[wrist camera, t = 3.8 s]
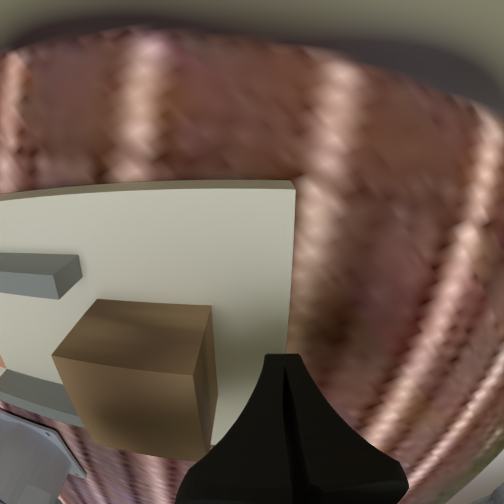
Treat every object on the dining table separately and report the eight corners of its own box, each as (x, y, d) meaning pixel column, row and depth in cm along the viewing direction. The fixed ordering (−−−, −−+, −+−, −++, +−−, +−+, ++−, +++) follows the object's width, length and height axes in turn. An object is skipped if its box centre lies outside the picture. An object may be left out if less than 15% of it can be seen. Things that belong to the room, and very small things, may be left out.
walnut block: (120, 384, 14) (93, 443, 11) (96, 298, 13) (50, 355, 9) (218, 394, 14) (207, 462, 10) (211, 305, 12) (192, 375, 9)
